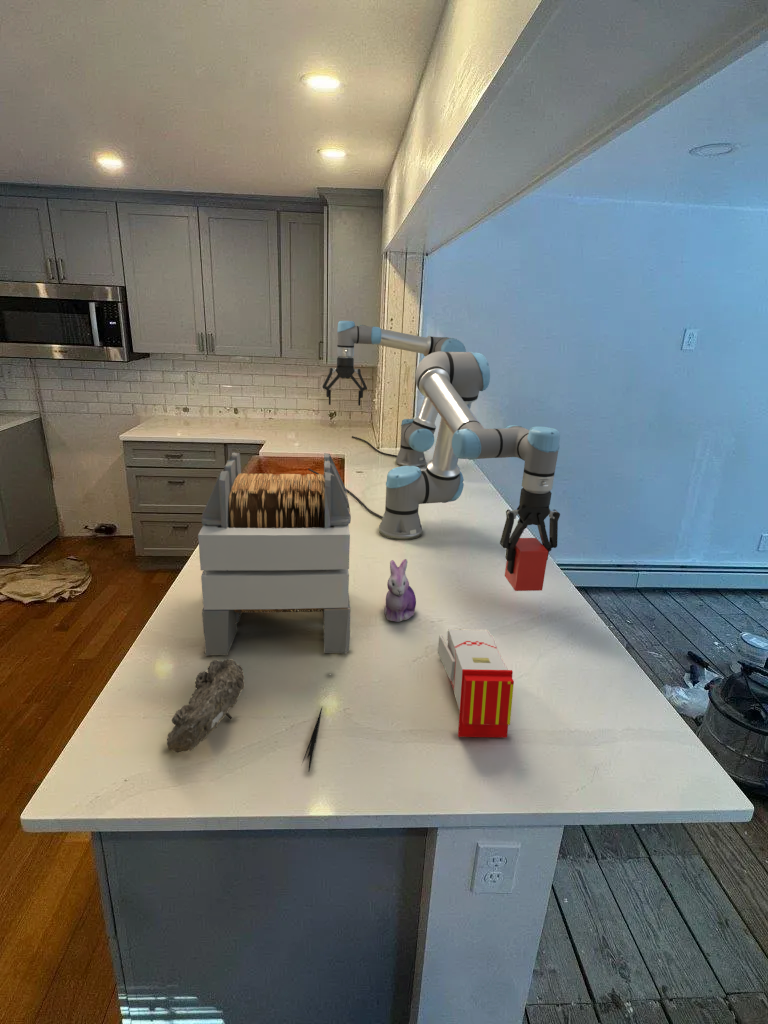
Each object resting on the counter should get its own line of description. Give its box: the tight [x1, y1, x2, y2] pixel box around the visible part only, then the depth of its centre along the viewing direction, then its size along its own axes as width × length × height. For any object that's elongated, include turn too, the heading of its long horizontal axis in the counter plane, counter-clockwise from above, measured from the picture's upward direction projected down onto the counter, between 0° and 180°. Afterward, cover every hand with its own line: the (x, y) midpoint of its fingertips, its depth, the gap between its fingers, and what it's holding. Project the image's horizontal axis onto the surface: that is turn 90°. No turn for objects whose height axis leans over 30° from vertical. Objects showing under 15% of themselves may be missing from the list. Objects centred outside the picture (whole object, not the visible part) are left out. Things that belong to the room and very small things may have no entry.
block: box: [504, 537, 549, 592], centre depth 150 cm, size 7×9×11 cm
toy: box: [437, 628, 515, 738], centre depth 117 cm, size 12×13×30 cm
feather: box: [301, 673, 332, 771], centre depth 108 cm, size 2×28×2 cm
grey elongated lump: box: [166, 658, 245, 754], centre depth 106 cm, size 22×10×15 cm
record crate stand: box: [197, 451, 352, 657], centre depth 136 cm, size 34×33×41 cm
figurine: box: [384, 558, 417, 623], centre depth 145 cm, size 9×10×15 cm
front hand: (524, 571), depth 150 cm, fingers closed on block, 7 cm apart
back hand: (344, 404), depth 261 cm, fingers open, 13 cm apart
